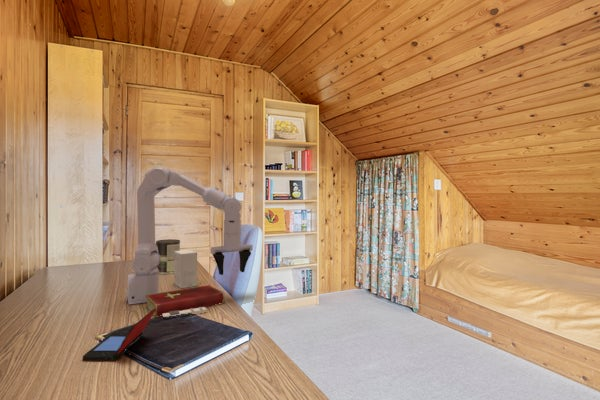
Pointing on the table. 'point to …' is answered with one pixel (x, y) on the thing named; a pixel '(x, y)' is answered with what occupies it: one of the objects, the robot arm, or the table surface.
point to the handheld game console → (117, 342)
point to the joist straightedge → (185, 312)
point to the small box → (185, 268)
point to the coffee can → (167, 255)
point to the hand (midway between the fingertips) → (231, 272)
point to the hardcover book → (184, 299)
